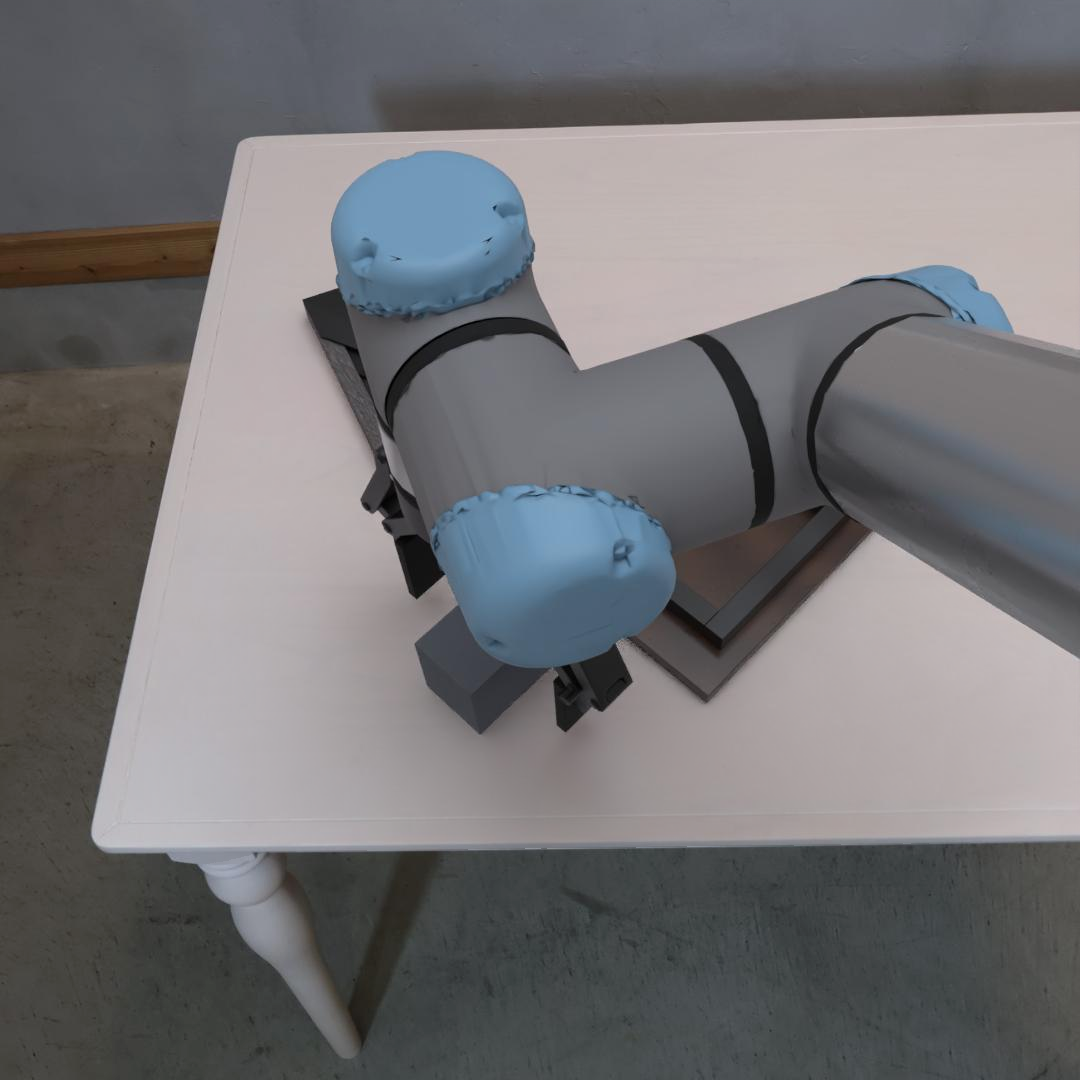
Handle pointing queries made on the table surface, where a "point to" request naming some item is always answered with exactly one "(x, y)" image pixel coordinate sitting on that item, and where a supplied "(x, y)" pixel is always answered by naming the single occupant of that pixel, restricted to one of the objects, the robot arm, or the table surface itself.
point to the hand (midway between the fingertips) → (499, 646)
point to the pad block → (470, 672)
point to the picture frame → (344, 357)
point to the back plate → (744, 593)
